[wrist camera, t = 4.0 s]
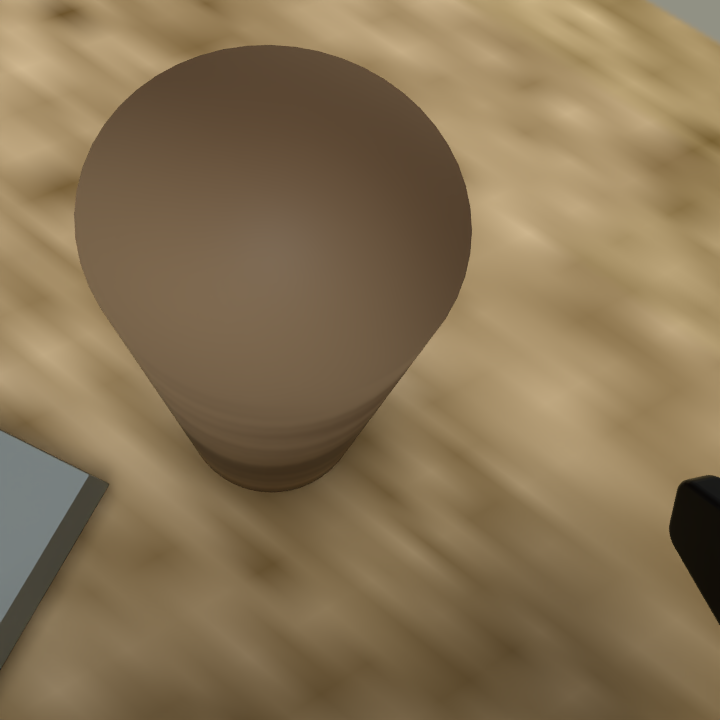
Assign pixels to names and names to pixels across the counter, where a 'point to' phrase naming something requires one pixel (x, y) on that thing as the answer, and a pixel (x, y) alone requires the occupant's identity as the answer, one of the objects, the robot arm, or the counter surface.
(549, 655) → the counter surface
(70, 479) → the frame
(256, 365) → the walnut peg
